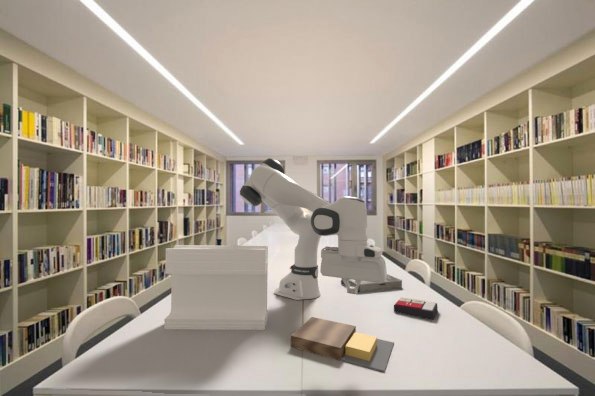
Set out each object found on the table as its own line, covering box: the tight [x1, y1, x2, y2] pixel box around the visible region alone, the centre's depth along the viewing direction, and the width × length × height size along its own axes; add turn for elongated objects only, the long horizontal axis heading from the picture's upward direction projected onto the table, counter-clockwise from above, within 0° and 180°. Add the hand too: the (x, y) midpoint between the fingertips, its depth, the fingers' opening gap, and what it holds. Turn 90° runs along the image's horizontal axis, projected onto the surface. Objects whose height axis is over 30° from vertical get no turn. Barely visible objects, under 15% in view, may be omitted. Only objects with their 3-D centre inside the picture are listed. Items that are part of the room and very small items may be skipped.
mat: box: [341, 338, 394, 373], centre depth 85 cm, size 12×17×1 cm
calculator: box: [393, 296, 439, 321], centre depth 117 cm, size 11×4×15 cm
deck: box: [290, 316, 357, 361], centre depth 91 cm, size 16×16×4 cm
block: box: [163, 244, 269, 331], centre depth 103 cm, size 35×8×28 cm, turn 91°
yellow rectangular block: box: [344, 331, 378, 361], centre depth 85 cm, size 7×10×2 cm
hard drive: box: [340, 273, 403, 293], centre depth 153 cm, size 18×27×4 cm
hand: (352, 293), depth 87 cm, fingers closed
